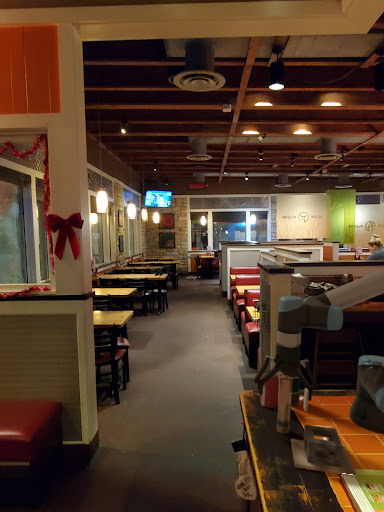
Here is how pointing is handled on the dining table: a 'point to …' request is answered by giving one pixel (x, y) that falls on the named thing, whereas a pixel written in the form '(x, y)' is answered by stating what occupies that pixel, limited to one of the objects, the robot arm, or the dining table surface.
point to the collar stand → (321, 451)
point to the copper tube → (284, 404)
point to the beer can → (271, 391)
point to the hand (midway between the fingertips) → (283, 406)
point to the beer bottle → (294, 386)
